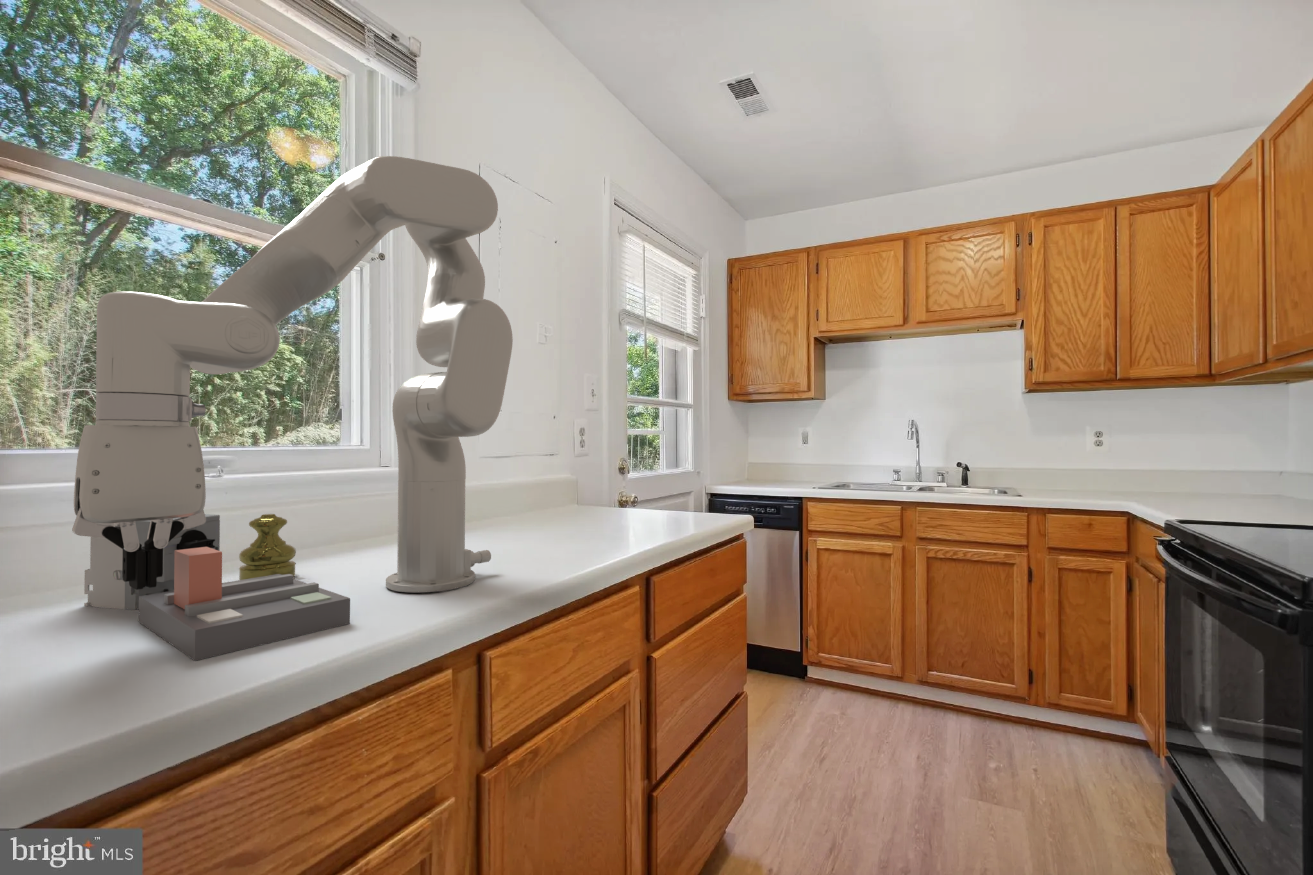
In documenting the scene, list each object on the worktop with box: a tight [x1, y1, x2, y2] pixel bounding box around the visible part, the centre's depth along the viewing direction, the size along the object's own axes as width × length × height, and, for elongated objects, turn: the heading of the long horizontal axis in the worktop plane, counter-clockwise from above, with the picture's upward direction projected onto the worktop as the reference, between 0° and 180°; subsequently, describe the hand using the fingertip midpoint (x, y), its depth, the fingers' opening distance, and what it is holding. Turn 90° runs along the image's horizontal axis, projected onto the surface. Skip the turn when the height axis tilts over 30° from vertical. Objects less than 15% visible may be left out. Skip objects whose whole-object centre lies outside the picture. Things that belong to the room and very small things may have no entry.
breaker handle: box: [174, 547, 223, 610], centre depth 67 cm, size 3×5×6 cm, turn 53°
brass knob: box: [238, 513, 297, 580], centre depth 92 cm, size 7×7×10 cm
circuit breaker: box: [83, 513, 221, 611], centre depth 79 cm, size 8×14×15 cm, turn 78°
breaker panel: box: [138, 574, 351, 661], centre depth 70 cm, size 15×20×4 cm
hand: (142, 586), depth 63 cm, fingers closed
